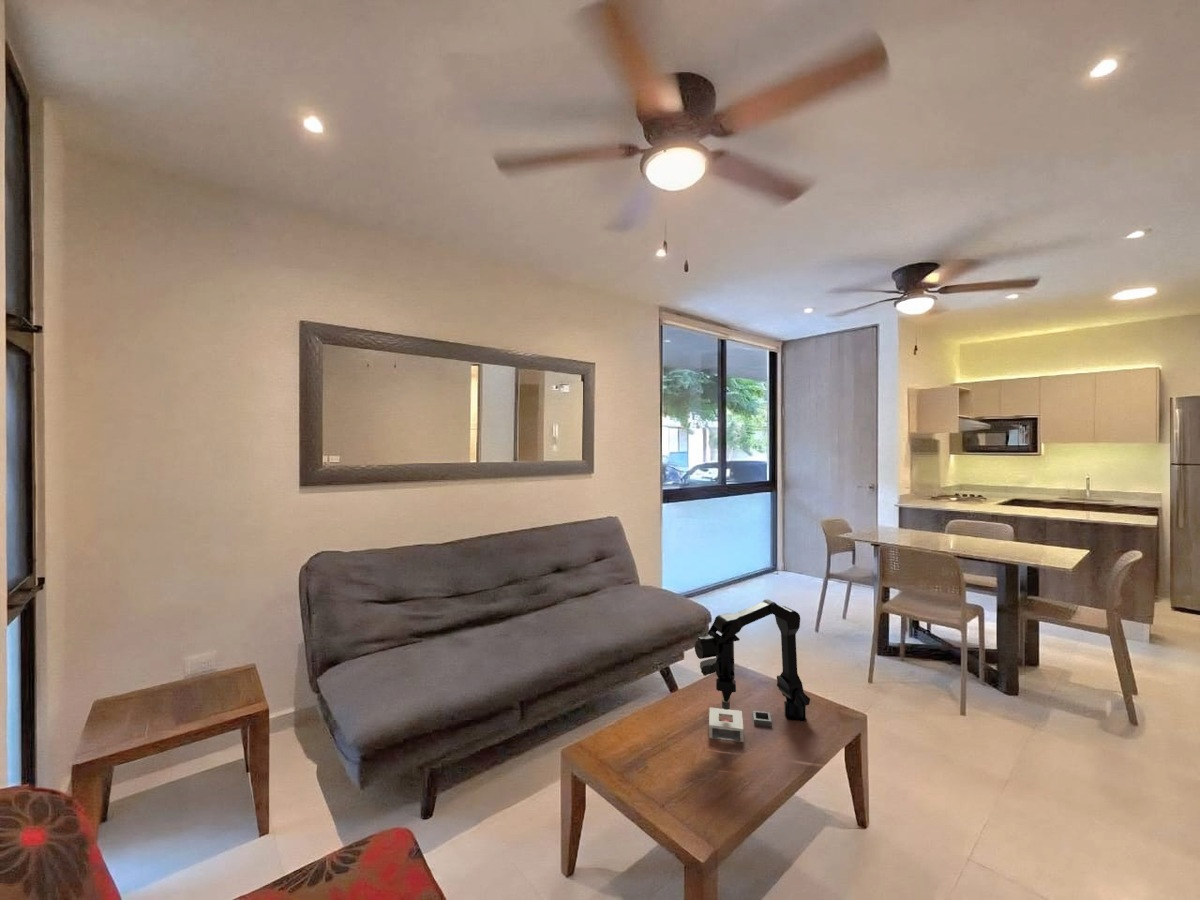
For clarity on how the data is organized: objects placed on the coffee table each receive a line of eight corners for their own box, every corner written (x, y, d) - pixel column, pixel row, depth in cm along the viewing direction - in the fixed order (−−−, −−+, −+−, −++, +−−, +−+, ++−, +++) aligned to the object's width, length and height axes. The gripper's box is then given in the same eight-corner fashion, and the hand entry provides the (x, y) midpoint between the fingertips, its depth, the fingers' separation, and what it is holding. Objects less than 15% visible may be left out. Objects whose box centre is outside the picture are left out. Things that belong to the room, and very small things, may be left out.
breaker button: (730, 724, 170) (730, 719, 170) (730, 729, 167) (730, 723, 167) (721, 723, 171) (721, 718, 171) (721, 728, 168) (721, 722, 168)
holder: (770, 718, 177) (770, 712, 177) (771, 727, 171) (771, 721, 171) (752, 716, 178) (752, 710, 178) (753, 725, 172) (753, 719, 172)
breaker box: (741, 724, 173) (741, 710, 173) (743, 743, 163) (743, 729, 162) (709, 720, 176) (709, 707, 176) (709, 739, 165) (709, 725, 165)
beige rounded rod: (730, 705, 170) (729, 684, 170) (730, 710, 167) (730, 688, 167) (721, 704, 171) (721, 683, 170) (721, 709, 168) (721, 687, 168)
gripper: (702, 641, 179) (702, 683, 180) (700, 664, 161) (701, 711, 162) (733, 643, 177) (734, 686, 177) (735, 667, 159) (736, 715, 159)
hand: (725, 699), depth 169 cm, fingers closed on beige rounded rod, 3 cm apart
